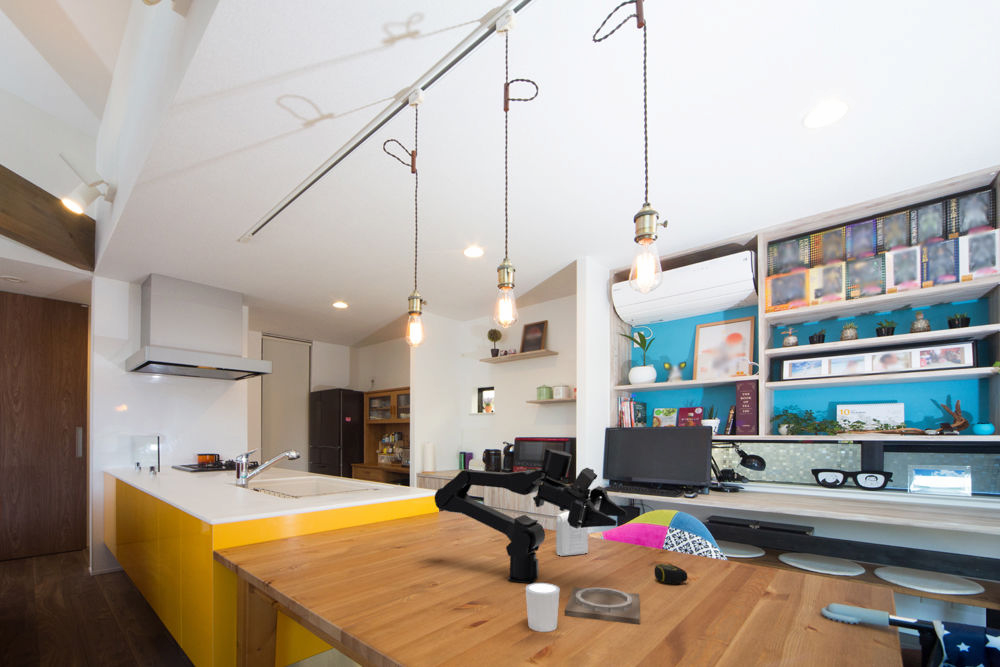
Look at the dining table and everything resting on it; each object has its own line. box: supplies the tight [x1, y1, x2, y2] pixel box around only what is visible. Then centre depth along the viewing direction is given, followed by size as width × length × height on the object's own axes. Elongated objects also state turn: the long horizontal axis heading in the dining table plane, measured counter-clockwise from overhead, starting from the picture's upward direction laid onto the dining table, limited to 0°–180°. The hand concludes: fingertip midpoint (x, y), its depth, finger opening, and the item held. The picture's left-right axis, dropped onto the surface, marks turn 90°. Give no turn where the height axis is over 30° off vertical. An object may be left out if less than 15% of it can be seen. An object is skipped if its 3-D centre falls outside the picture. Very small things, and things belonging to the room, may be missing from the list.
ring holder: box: [564, 586, 641, 625], centre depth 107 cm, size 15×15×2 cm
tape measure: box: [654, 563, 688, 585], centre depth 125 cm, size 7×7×4 cm
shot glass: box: [525, 582, 560, 633], centre depth 98 cm, size 7×7×7 cm
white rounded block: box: [555, 510, 589, 557], centre depth 150 cm, size 10×4×12 cm, turn 114°
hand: (621, 518), depth 116 cm, fingers open, 9 cm apart
